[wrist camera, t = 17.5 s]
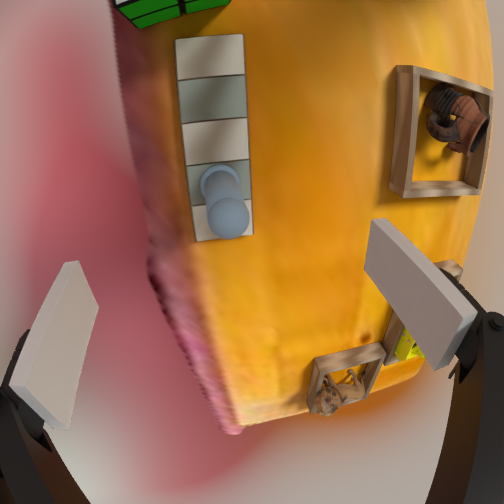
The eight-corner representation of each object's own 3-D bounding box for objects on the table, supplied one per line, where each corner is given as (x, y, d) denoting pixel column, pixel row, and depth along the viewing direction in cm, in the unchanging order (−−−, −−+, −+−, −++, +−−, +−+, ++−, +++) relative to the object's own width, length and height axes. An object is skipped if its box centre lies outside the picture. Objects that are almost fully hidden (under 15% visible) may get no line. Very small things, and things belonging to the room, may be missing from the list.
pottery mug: (451, 72, 30) (498, 101, 26) (441, 120, 38) (481, 149, 34) (410, 93, 29) (467, 129, 24) (401, 148, 37) (447, 184, 32)
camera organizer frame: (452, 259, 48) (463, 269, 45) (420, 340, 59) (428, 350, 56) (405, 269, 46) (416, 281, 43) (377, 354, 58) (384, 366, 55)
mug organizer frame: (477, 87, 31) (493, 91, 28) (466, 186, 40) (480, 194, 37) (396, 64, 29) (413, 65, 26) (388, 188, 38) (403, 198, 35)
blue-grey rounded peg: (237, 162, 31) (257, 198, 22) (240, 198, 33) (259, 247, 24) (198, 166, 31) (199, 205, 22) (202, 203, 33) (206, 254, 24)
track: (242, 35, 25) (244, 33, 24) (252, 229, 37) (254, 234, 36) (174, 41, 24) (173, 39, 23) (195, 236, 37) (195, 242, 35)
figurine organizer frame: (378, 341, 55) (386, 353, 52) (361, 387, 64) (366, 398, 61) (314, 357, 53) (320, 371, 50) (306, 401, 62) (310, 414, 59)
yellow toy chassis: (407, 334, 57) (426, 362, 50) (386, 341, 56) (404, 371, 49) (428, 274, 48) (455, 302, 41) (405, 280, 48) (431, 310, 41)
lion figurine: (302, 388, 58) (316, 423, 51) (308, 374, 56) (323, 410, 48) (361, 376, 62) (377, 406, 54) (369, 361, 59) (387, 392, 52)
